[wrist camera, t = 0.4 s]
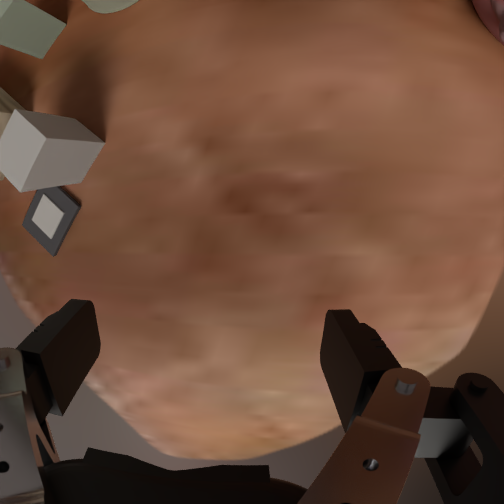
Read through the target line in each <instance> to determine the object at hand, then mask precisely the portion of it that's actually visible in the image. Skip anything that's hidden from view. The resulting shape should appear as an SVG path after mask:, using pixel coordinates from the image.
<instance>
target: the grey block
mask: <svg viewBox="0 0 504 504" xmlns="http://www.w3.org/2000/svg"><path fill="white" fill-rule="evenodd" d="M104 144H105V142H103V141H102V140H101V139H100V138H99V137H97V136H96V135H95V134H94V133H92V132H91V131H90V130H89V129H87V128H86V127H85V126H84V125H83V124H81V123H80V122H79V121H78V120H76V119H74V118H69V117H63V116H57V115H52V114H46V113H39V112H33V111H26V110H19V109H15V110H14V112H13V114H12V116H11V118H10V120H9V122H8V124H7V126H6V128H5V130H4V132H3V134H2V136H1V138H0V171H1V172H2V173H3V174H4V175H5V176H6V178H7V179H8V180H9V181H10V182H11V183H12V184H13V185H14V186H15V187H16V188H17V189H18V191H19V192H26V191H31V190H37V189H43V188H49V187H56V186H62V185H69V184H76V183H81V182H82V180H83V179H84V177H85V175H86V174H87V172H88V170H89V169H90V167H91V165H92V164H93V162H94V160H95V159H96V157H97V155H98V154H99V152H100V151H101V149H102V148H103V146H104Z"/></svg>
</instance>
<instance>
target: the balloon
mask: <svg viewBox="0 0 504 504" xmlns="http://www.w3.org/2000/svg"><path fill="white" fill-rule="evenodd" d="M472 2H473V5H474V7H475V9H476V11H477V13H478V15H479V17H480V19H481V20H482V22H483V23H484V25H485V26H486V27H487V29H488V30H489V31H490V32H491V33H492V34H493V36H494V37H495V38H496V39H497V40H498V41H499V42H501V43H502V44H503V45H504V0H472Z"/></svg>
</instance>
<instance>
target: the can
mask: <svg viewBox="0 0 504 504" xmlns="http://www.w3.org/2000/svg"><path fill="white" fill-rule="evenodd" d="M82 1H83V2H85V3H86V4H87V6H88V7H89V8H90V9H91V10H93V11H95V12H98V13H113V12H117V11H120V10H123V9H125V8H127V7H129V6H131V5H133V4H134V3H136V2H137V1H139V0H82Z"/></svg>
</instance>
